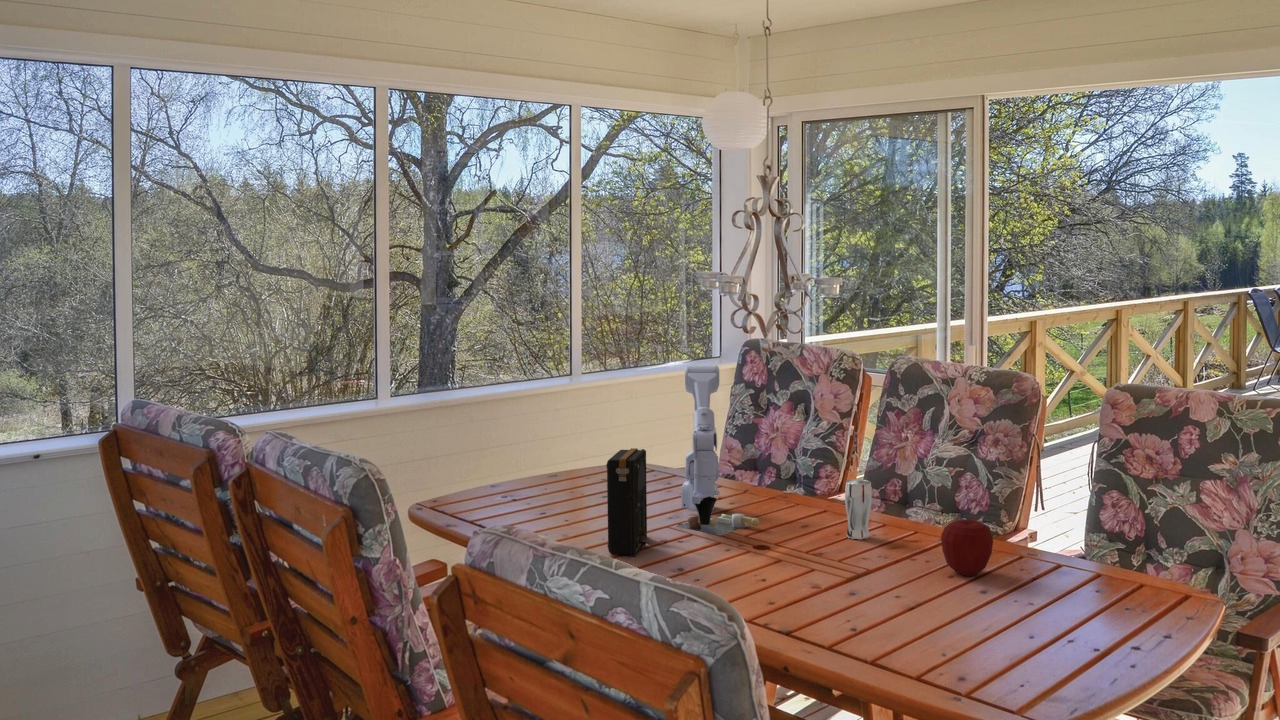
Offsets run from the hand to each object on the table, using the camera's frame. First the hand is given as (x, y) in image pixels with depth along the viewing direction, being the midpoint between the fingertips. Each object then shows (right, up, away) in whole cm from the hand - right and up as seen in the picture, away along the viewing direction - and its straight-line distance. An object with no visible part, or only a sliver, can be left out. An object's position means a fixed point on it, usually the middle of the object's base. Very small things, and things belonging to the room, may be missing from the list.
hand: (705, 524), depth 277 cm
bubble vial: (+6, -1, +8) cm, 11 cm away
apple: (+59, -6, -36) cm, 69 cm away
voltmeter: (-21, -4, -12) cm, 24 cm away
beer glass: (+40, -3, -4) cm, 41 cm away
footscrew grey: (+11, -1, +2) cm, 12 cm away
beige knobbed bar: (-1, -1, +2) cm, 3 cm away
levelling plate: (+3, -2, +5) cm, 6 cm away
